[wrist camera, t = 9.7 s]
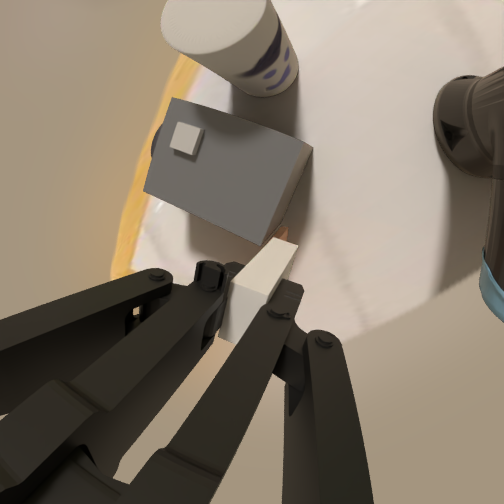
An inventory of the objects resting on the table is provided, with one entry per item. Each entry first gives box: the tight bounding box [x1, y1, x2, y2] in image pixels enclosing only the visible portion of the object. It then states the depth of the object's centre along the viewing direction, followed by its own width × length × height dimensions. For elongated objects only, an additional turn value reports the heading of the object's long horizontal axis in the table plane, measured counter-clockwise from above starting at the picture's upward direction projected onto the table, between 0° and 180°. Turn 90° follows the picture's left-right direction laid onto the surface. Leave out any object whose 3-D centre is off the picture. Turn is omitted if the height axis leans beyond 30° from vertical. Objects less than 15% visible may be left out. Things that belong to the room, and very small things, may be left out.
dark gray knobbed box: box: [143, 97, 313, 246], centre depth 36 cm, size 18×12×13 cm, turn 69°
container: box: [161, 0, 298, 97], centre depth 27 cm, size 10×10×20 cm
